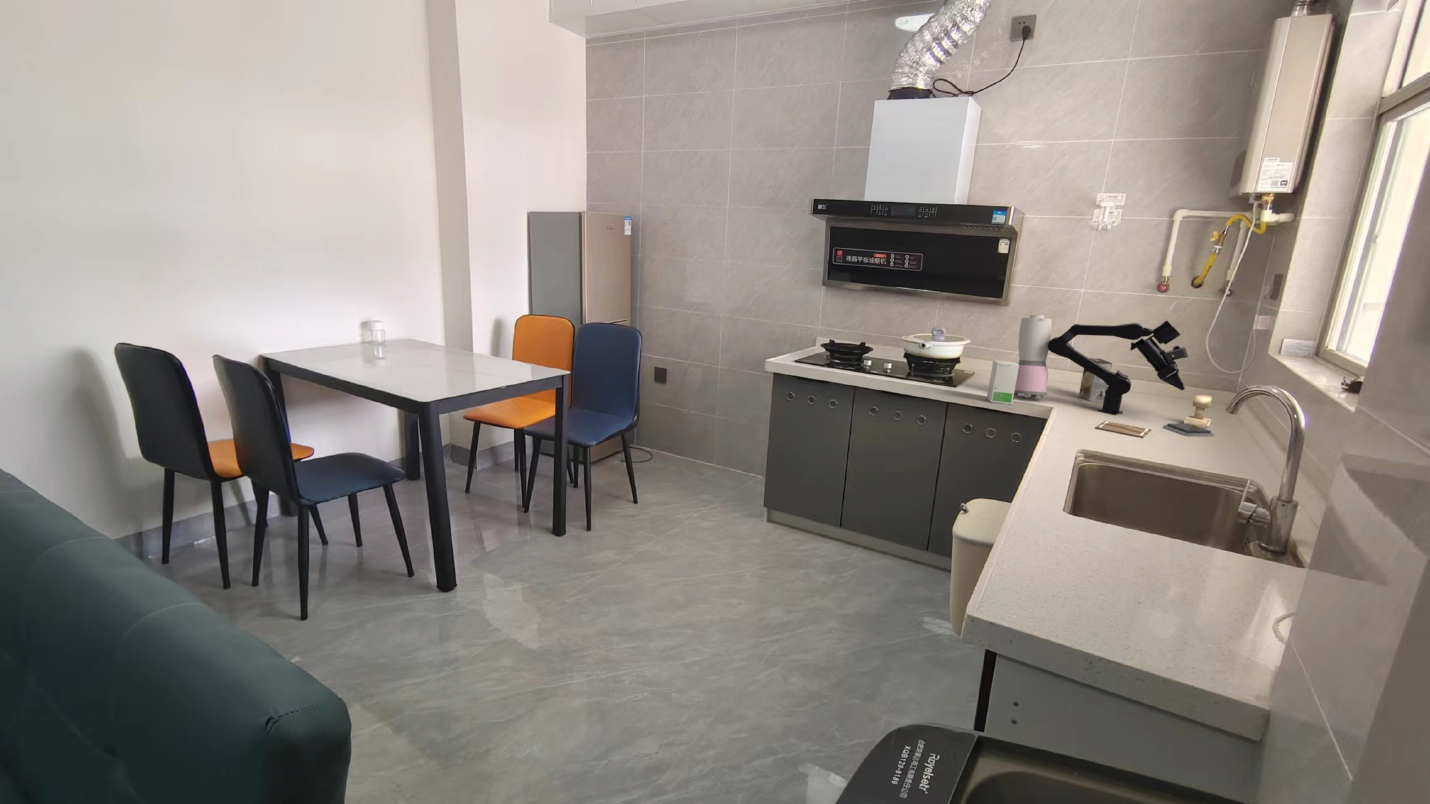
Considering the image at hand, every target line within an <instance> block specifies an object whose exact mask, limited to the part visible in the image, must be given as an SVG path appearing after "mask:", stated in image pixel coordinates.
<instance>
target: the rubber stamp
mask: <svg viewBox="0 0 1430 804" xmlns="http://www.w3.org/2000/svg"><path fill="white" fill-rule="evenodd" d="M1212 400H1213V397H1212V396H1211V395H1206V394H1198V393H1197V394H1194V396H1193V401H1192V407H1195V410H1194V414H1193V415H1189V416H1186V417H1185V418H1184V420H1183V424H1192V425H1195V426H1198V427H1201V428H1204V429H1207V428H1209V427H1210V425H1211V422H1212V420H1211V419H1210V418H1205V417H1204V415H1205V411H1206V409H1210V408H1211V404H1212Z"/></svg>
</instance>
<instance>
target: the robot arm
mask: <svg viewBox="0 0 1430 804" xmlns="http://www.w3.org/2000/svg"><path fill="white" fill-rule="evenodd" d="M1181 335H1182V334H1181V333H1180V332H1179V331H1178V329H1177V328H1176V327H1175V326H1173V325H1172V324H1171V322H1169V320H1164V321H1163V322H1162V323H1161V324H1160V325H1158V326H1157V327H1155V328H1154V329H1153V328H1147V327H1143V325H1141V324H1140V323H1138V322H1131V323H1122V324H1117V325H1115V324H1114V325H1109V324H1107V325H1106V324H1105V325H1104V324H1099V325H1098V324H1079V323H1076V324H1075V323H1074V324H1073V325H1072V326H1071V327H1070V328H1068V329H1067V330H1066V331H1064V332H1063V333H1062V335H1060V336H1055V337H1053V338H1051V340H1050V341H1049V343H1048V349H1049V351H1048V352H1051V353H1053V354H1055V355H1057V356H1059V357H1062V358H1066V359H1068V360H1070V361H1072V362H1073V363H1075V364H1076V365H1078V366H1079V367H1081V368H1082V369H1083V370H1084V369H1086V370H1087V371H1089V372H1091V373H1092V374H1094V375H1095V376H1097V377H1099V378H1100V379H1102V380H1103V381H1104V382H1105V383H1106V384H1107V385H1108V386H1107V388H1106V390H1105V396H1104V401H1103V402H1102V407H1101V408H1098V409H1097V411H1098V412H1102V413H1107V414H1112V415H1119V414H1123V413H1124V411H1123V410H1121V405H1122V400H1123V395H1126V394H1127V393H1129V392H1130V391H1131V387H1132V381H1131V379H1130V378H1129V375H1127V374H1123V372H1121V371H1120V370H1117V371H1116V372H1113V371H1112V370H1111V371H1109V370H1107V369H1106V368H1104V367H1102V366H1101V365H1099V364H1097V363H1096V362H1094V361H1093V360H1091V359H1089V358H1090V357H1088V356H1086V355H1084V354H1083V353H1081V352H1079V351H1078V350H1076V349H1075V347H1073V346H1072V345H1071V343H1069V342H1071V340H1073V339H1075V337H1077V336H1098V337H1099V336H1101V337H1102V336H1103V337H1105V336H1106V337H1115V338H1120V339H1125V340H1129V341H1130V340H1131V341H1135V342H1130V348H1129V349H1130V351H1134V350H1135V349H1137V350H1138V351H1139V352H1140V354H1141V355H1142V356H1143V358H1145V359H1146V361H1147V362H1148V363H1149V364H1150V365H1151V367H1152V368H1153V369H1154V371H1155V372H1156V376H1157V378H1159V380H1161V381H1162V382H1165V383H1166V384H1168V385H1170V386H1173V387H1175V388H1176V389H1179V390H1180V391H1184V390H1185V389H1186V387H1185V386H1184V382H1183V380H1182V379H1181V378H1180V375H1179V373H1180V372H1179V371H1180V369H1179V368H1178V364H1177V362H1176V360H1180V359H1186V358H1188V357H1189V355H1188V352H1187V349H1186V347H1180V346H1179V345H1175V346H1172V347H1173V348H1172V349H1171V350H1169V351H1165V349H1162V348H1161V347H1160V345H1163V344H1164V345H1167V344H1169V343H1170V342H1172V341H1174V340H1175V339H1177V338H1178V337H1180V336H1181ZM1143 337H1144V338H1143ZM1145 337H1147V338H1145ZM1156 341H1157V342H1156Z"/></svg>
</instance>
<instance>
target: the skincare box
mask: <svg viewBox="0 0 1430 804" xmlns="http://www.w3.org/2000/svg"><path fill="white" fill-rule="evenodd" d="M1018 368H1019V364H1018V362H1015V361H1008V360H1000V359H993V360H992V365H991V371H990V377H989V383H988V388H987V394H986V400H988V402H990V403H994V404H995V403H996V404H1003V405H1004V404H1006V405H1013V401H1014V391H1015V385H1016V379H1017V374H1018Z"/></svg>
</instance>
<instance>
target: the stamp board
mask: <svg viewBox="0 0 1430 804" xmlns="http://www.w3.org/2000/svg"><path fill="white" fill-rule="evenodd" d="M1094 429H1095V430H1100V431H1106V432H1111V433H1116V434H1121V435H1126V436H1131V437H1134V438H1135V437H1136V438H1139V437H1141V438H1140V439H1144V438H1145V437H1146V436H1147V435H1149V433H1150V432H1152V429H1151V428H1146V427H1141V426H1135V425H1130V424H1126V423H1120V422H1117V421H1116V422H1114V421H1110V420H1104V421H1102V422H1101V423H1100V424H1098V425H1096V426H1095V428H1094ZM1145 435H1146V436H1145ZM1143 437H1144V438H1143Z"/></svg>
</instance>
